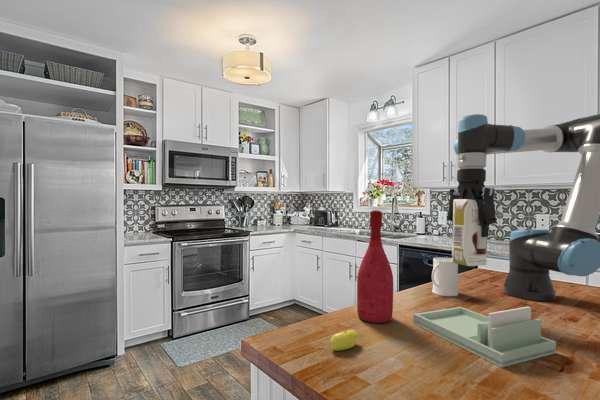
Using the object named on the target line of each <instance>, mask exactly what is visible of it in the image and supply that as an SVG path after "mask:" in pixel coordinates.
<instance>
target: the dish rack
mask: <svg viewBox="0 0 600 400" xmlns="http://www.w3.org/2000/svg"><path fill="white" fill-rule="evenodd" d="M531 314H532V307H531V306H525V307H524V306H523V307H517V308H512V309H511V308H510V309H507V310H500V311H494V312H489V313H487V315H484V314H482V313H479V312H476V311H474V310H473V311H472V309H471V310H470V309H468V308H465V307H462V306H456V307H451V308H444V309H437V310H430V311H424V312H417V313H413V324H414V325H416V326H418V327H420V328H422V329H424V330H426V331H428V332H430V333H432V334H434V335H435V336H438V337H440V338H442V339H444V340H445V341H448V342H450V343H452V344H454V345H456V346H458V347H460V348H461V349H464V350H466V351H468V352H470V353H472V354H474V355H476V356H478V357H480V358H482V359H484V360H485V361H488V362H489V363H492V364H494V365H495V366H498V367H500V368H505V367H509V366H512V365H517V364H520V363H524V362H527V361H532V360H536V359H539V358H543V357H547V356H550V355H551V356H552V355H554V354H556V353H557V347H556V346H557V342H556V341H554V340H552V339H549V338H547V337H544V336H542V319H540V318H536V319H532V315H531Z"/></svg>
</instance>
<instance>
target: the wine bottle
mask: <svg viewBox="0 0 600 400" xmlns="http://www.w3.org/2000/svg"><path fill="white" fill-rule="evenodd" d="M369 216H370V219H369V227H370V237H369V243H368V246H367V248H366V251H365V254H364V256H363V257H362V260H361V262H360V265H359V267H358V272H357V276H356V277H357V278H356V279H357V280H356V310H357V316H358V317H359V318H360V319H361V320H362V321H365V322H367V323H372V324H384V323H388V322H389V321H391V319H393V312H394V311H393V309H394V275H393V271H392V267H391V265H390V264H391V263H390V261H389V259H388V257H387V254H386V251H385V249H384V247H383V243H382V236H381V235H382V234H381V233H382V232H381V229H382V226H383V212H382V211H381V210H374V209H373V210H371V211H370V212H369Z"/></svg>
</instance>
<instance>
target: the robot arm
mask: <svg viewBox="0 0 600 400" xmlns="http://www.w3.org/2000/svg"><path fill="white" fill-rule="evenodd" d="M488 122H489V121H488V116H487V115H484V114H480V113H479V114H478V113H477V114H476V113H475V114H469V115H468V114H467V115H464V116H462V117H461V118H460V119H459V121H458V126H457V127H458V128H457V138H456V139H455V140H454V143H453V150H454V152H455V154H456V155H457V168H458V170H456V171H457V172H456V181H457V182H458V185H457V188H450V189H449V201H448V210H447V216H446V219H447V221H450V222H451V223H452V224H453V202H454V199H469V200H475V201H476V202H477V206H478V218H479V221H480V224H479V225H478V229H477V248H478V249H486V240H487V241H488V238H489V236H490V234H489V233H490V225H493V224H496V223H497V218H496V217H497V216H496V208H495V207H496V206H495V199H494V196H495V188H494V187H486V186H485V182H486V181H487V180H486V179H487V176H486V175H487V170H486V167H487V155H496V154H509V153H510V154H511V153H522V152H524V153H525V152H537V151H543V152H545V153H579V154H580V155H581V158H580V161H579V164H578V168H577V170H576V174H575V176H574V180H573V182H572V185H571V188H570V191H569V196H568V198H567V200H566V204H565V207H564V210H563V213H562V215H561V218H560V222H559V223H557V224H555V225H552V227H551V229H550V230H549V229H517V230H516V229H515V230H513V231H511V232H510V234H509V240H508V242H509V243H508V244H509V245H508V246H509V251H508V252H509V271H508V274H507V276H506V278H505V281H504V284H503V293H505V294H506V295H508V296H512V297H513V298H514V297H515V298H518V299H524V300H531V301H538V302H548V301H549V302H550V301H554V300H556V290H555V287H554V285H553V282H552V278H551V276H550V271H552V272H557V273H561V274H564V275H567V276H574V277H575V276H576V277H588V276H590V275H592V274H594V273H595V272H597V271H598V270H599V269H600V242H599V238H600V237H599V235H598V234H597V233H596V231H595V230H596V227H597V223H598V219H599V217H600V113H599V114H594V115H590V116H584V117H580V118H576V119H573V120H569V121H566V122H561V123H559V124H550V125H546V126H544V127H543V128H536V129H535V128H533V129H531V128H530V129H523V127H520V126H516V125H511V124H510V125H505V124H491V123H488ZM483 202H484V203H483Z"/></svg>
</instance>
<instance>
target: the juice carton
mask: <svg viewBox="0 0 600 400" xmlns="http://www.w3.org/2000/svg"><path fill="white" fill-rule="evenodd" d="M483 203H484V202H483ZM479 224H480V221H479V218H478V206H477V202H476V201H475V200H469V199H454V202H453V223H452V237H451V239H452V242H451V245H452V246H451V248H452V249H451V258H452V262H453V263H457V264H458V265H463V266H467V267H476V266H477V267H478V266H487V255H488V254H487V253H488V252H487V250H488V239H487V240H486V249H478V248H477V229H478V225H479Z"/></svg>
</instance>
